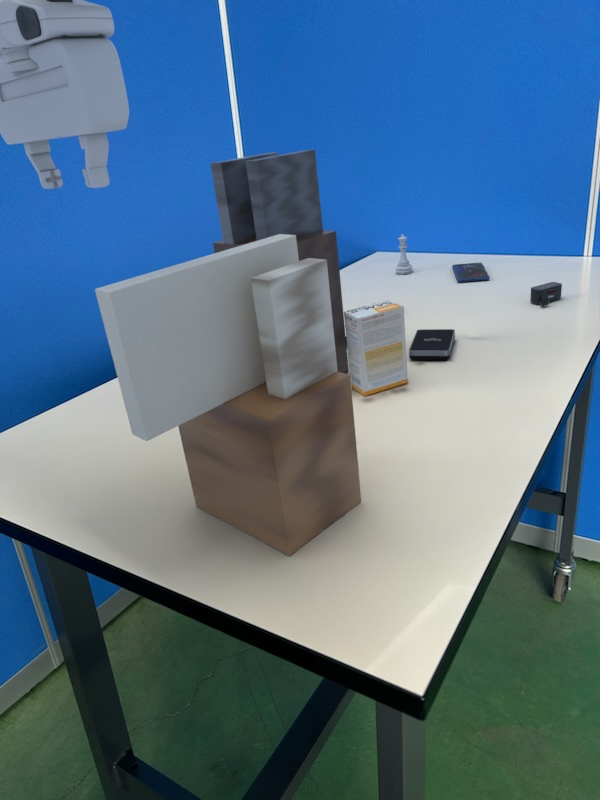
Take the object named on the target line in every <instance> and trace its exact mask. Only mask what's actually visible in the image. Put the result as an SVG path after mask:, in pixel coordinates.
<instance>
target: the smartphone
mask: <svg viewBox="0 0 600 800" xmlns="http://www.w3.org/2000/svg"><path fill="white" fill-rule="evenodd" d="M451 268H452V271H453V273H454V276H455V278H456V281H457V282H458V283H461V282H462V283H463V282H475V281H487V280H490V278H491V277H490V275H489V273H488V272H487V269H486V268H485V266H484V264H483V263H482V262H468V263H458V264H452V265H451Z"/></svg>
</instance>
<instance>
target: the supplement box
mask: <svg viewBox="0 0 600 800" xmlns="http://www.w3.org/2000/svg"><path fill="white" fill-rule="evenodd" d="M404 307H405V306H404V305H403V304H400V303H397V302H395V301H392V300H389V299H386V300H383V301H378V302H374V303H371V304H367V305H364V306H360V307H356V308H351V309H347V310H343V314H344V326H345V337H346V339H347V346H346V348H347V359H348V369H349V375H350V379H351V389H354V390H355V391H357V393H359V394H361V395H363V397H367V396H370V395H374V394H376V393H380V392H382V391H385V390H388V389H389V390H390V389H391V388H396V387H399V386H402V385H405V384H408V383H409V377H408V360H407V342H406V323H405V308H404Z"/></svg>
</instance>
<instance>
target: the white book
mask: <svg viewBox="0 0 600 800" xmlns="http://www.w3.org/2000/svg"><path fill="white" fill-rule="evenodd" d="M296 262H299V258H298V249H297V241H296V235H286V234H278V235H275V236H271V237H268V238H265V239H261V240H258V241H255V242H251V243H248V244H245V245H241V246H238V247H234V248H231V249H228V250H224V251H221V252H218V253H215V252H214V253H211V254H208V255H204V256H202V257H198V258H194V259H191V260H187V261H184V262H181V263H178V264H174V265H170V266H167V267H164V268H161V269H157V270H154V271H151V272H147V273H144V274H141V275H138V276H137V275H136V276H134V277H130V278H127V279H124V280H121V281H117V282H113V283H110V284H107V285H104V286H100V287H97V288H95V289H94V292H95V296H96V299H97V303H98V308H99V311H100V315H101V318H102V319H101V320H102V322H103V326H104V327H103V328H104V330H105V334H106V338H107V342H108V346H109V349H110V354H111V357H112V361H113V364H114V369H115V373H116V376H117V377H116V378H117V381H118V384H119V387H120V388H119V389H120V391H121V396H122V399H123V404H124V408H125V411H126V414H127V419H128V423H129V427H130V431H131V434H132V435H133V436H135V437H136V438H139V439H141V440H143V441H145V442H149V441H151V440H152V439H155V438H156V437H158V436H160V435H163V434H165V433H166V432H168V431H170V430H174V429H175V428H178V426H179V425H181V424H183V423H185V422H187V421H189V420H191V419H193V418H195V417H197V416H199V415H201V414H203V413H205V412H207V411H209V410H211V409H213V408H215V407H217V406H219V405H221V404H223V403H225V402H227V401H229V400H231V399H233V398H235V397H237V396H239V395H241V394H243V393H245V392H247V391H249V390H251V389H253V388H255V387H257V386H259V385H261V384H263V383H265V382H266V377H265V370H264V363H263V357H262V350H261V344H260V337H259V330H258V324H257V317H256V311H255V304H254V297H253V291H252V284H251V278H252V277H255V276H258V275H261V274H264V273H267V272H270V271H272V270H275V269H278V268H281V267H284V266H287V265H290V264H293V263H296Z"/></svg>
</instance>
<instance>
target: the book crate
mask: <svg viewBox="0 0 600 800" xmlns="http://www.w3.org/2000/svg"><path fill="white" fill-rule="evenodd" d="M251 284H252V291H253V297H254V304H255V311H256V317H257V324H258V330H259V337H260V344H261V350H262V357H263V363H264V370H265V377H266V382H265V383H263V384H261V385H259V386H257V387H255V388H253V389H251V390H249V391H247V392H245V393H243V394H241V395H239V396H237V397H235V398H233V399H231V400H229V401H227V402H225V403H223V404H221V405H219V406H217V407H215V408H213V409H211V410H209V411H207V412H205V413H203V414H201V415H199V416H197V417H195V418H193V419H191V420H189V421H187V422H185V423H183V424H181V425H179V426H177V428H178V432H179V436H180V440H181V444H182V449H183V454H184V459H185V463H186V468H187V471H188V477H189V480H190V481H189V482H190V485H191V489H192V490H191V491H192V494H193V499H194V503H195V506H196V507H197V508H199V509H201V510H203V511H204V512H207V514H210V515H212V516H214V517H216V518H217V519H219V520H221V521H223V522H225V523H226V524H228V525H231V526H232V527H234V528H236V529H237V530H239V531H242V532H244V533H245V534H247V535H249V536H251V537H253V538H255V539H256V540H257V541H260V542H262V543H263V544H266V545H268V546H269V547H271V548H273V549H275V550H277V551H278V552H280V553H282V554H284V555H286V556H288V557H290V556H292V555H293V554H294V553H296V552H297V551H299V550H300V549H301V548H302V547H304V546H305V545H307V544H308V543H309V542H310V541H311V540H313V539H315V538H316V537H317V536H318V535H319V534H321V533H322V532H324V531H325V530H326V529H327V528H328V527H330V526H331V525H333V524H334V523H335V522H336V521H338V520H339V519H340V518H341V517H343V516H344V515H346V514H347V513H348V512H350V511H351V510H352V509H354V508H355V507H356V506H358V505H359V504H360V503H362V493H361V482H360V470H359V458H358V448H357V437H356V436H357V435H356V426H355V425H356V424H355V414H354V403H353V393H352V392H353V390H352V387H351V378H350V373H349V374H348V373H346V374H345V373H341V372H337V360H336V350H335V340H334V330H333V320H332V309H331V299H330V289H329V279H328V268H327V260H325V259H314V258H307V259H304V260H301V261H299V262H296V263H293V264H290V265H287V266H284V267H281V268H278V269H275V270H272V271H270V272H267V273H264V274H261V275H258V276H255V277H252V278H251Z"/></svg>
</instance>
